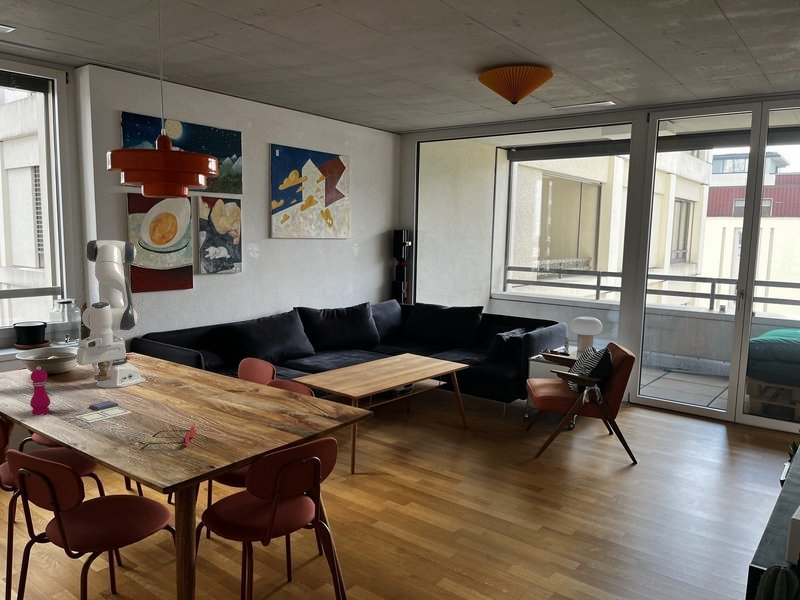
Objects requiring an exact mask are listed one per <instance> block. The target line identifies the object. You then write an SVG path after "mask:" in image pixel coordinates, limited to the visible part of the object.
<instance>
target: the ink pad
mask: <svg viewBox="0 0 800 600" xmlns="http://www.w3.org/2000/svg"><path fill="white" fill-rule="evenodd" d="M114 407H119V404H118V402H114V401H111V400H106V401H102V402H98V403H93V404H92V403H91V404H89V408H90V409H93V410H95V411H101V410H105V409H109V408H114Z"/></svg>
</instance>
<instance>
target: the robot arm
mask: <svg viewBox="0 0 800 600" xmlns="http://www.w3.org/2000/svg"><path fill="white" fill-rule="evenodd" d="M84 253H85V256H86V259H87V260H88V261H90V262H93V263H95V264H94V275H95V278H96V280H97V281H98V293H99V295H100V296H101V297H102V298H103V299H106V300H107V301H108V302H103V301H102V302H101V301H100V302H99V301H98V302H95V303H92V304H91V305H90V307H86V309H85V310H84V311H83V312H82V316H81V319H82V320H81V321H82V322H83V325H84V326H85V327H86V328H88V329H89V330H90V332H89V336H88V337H86V338H83V339H82V340H79V341H78V342H77V345H78V348H77V351H76V363H77V364H78V365H79V366H86V365H87V366H88V365H91V367H92V368H93V370H94V374H99V373H100V369H98V363H100V362H107V374H109V375H112V379H111V380H106V381H101V382H100V381H97V380H96V387H98V388H103V389H104V388H107V389H108V388H109V389H110V388H126V387H129V386H132V385H137V384H140V383H144V382H146V378H145V377H143V376H141V372H140V370H139V368H137V367H136V366H134V365H132V364H131V363H129V362H128V361H132V356H130V355H127V351H126V341H125V339H124V338H121V337H120V336H118V335H117V334H115V333H114V332H113V331H117V330H118V331H119V330H120V331H130V330H132V329H133V328H134V327H135V326H137V322H138V318H139V317H138V313H137V311H136V310H135V307H134V302H133V294H132V290H131V289H132V287H131V285H130V281H129V278H128V276H127V275H125V272H124V271H125V270H124V264H125V266H126V267H127V266H128V265H129V264H132V263H133V262H134V261H135V259H136V257H137V249H136V246H135V244H134V243H133V242H131V241H123V240H115V239H114V240H113V239H112V240H110V239H109V240H107V239H106V240H103V239H101V240H97V239H94V240H89V241H88V242H87V243H86V245H85V249H84Z"/></svg>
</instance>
